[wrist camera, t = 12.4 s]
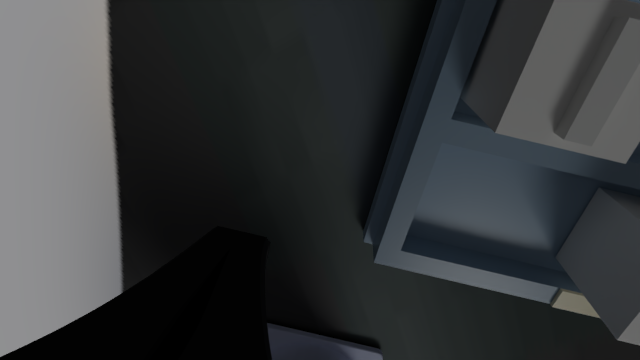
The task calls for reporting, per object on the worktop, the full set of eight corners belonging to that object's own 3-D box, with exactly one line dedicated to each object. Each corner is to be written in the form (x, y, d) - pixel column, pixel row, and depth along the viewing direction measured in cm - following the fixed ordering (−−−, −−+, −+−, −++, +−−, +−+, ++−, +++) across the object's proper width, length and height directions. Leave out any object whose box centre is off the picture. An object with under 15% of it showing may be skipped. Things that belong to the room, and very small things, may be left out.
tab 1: (550, 115, 16) (639, 172, 11) (456, 94, 16) (501, 139, 11) (601, 13, 14) (737, 23, 9) (496, -13, 14) (574, -17, 9)
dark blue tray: (706, 311, 21) (753, 353, 18) (363, 231, 20) (363, 262, 18) (952, 45, 14) (1073, 55, 12) (460, -74, 14) (482, -89, 12)
